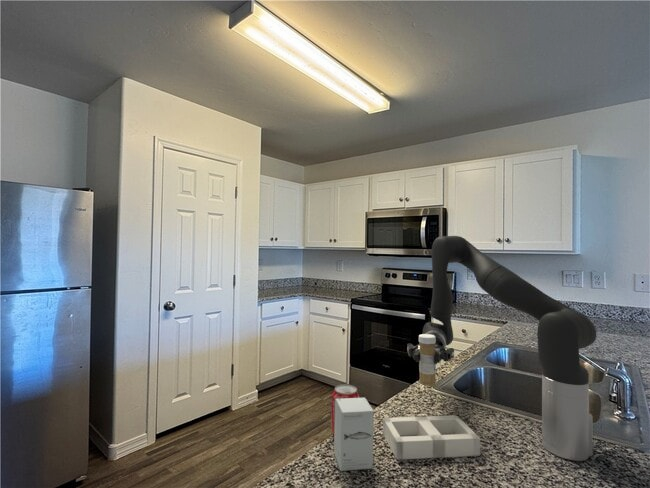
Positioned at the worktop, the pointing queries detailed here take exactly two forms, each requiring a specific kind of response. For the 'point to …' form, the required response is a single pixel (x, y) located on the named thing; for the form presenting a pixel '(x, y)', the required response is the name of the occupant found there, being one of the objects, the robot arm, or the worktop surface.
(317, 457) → the worktop surface
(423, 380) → the sprinkles bottle
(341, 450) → the supplement box
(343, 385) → the soda can
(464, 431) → the divided compartment tray
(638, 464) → the worktop surface
